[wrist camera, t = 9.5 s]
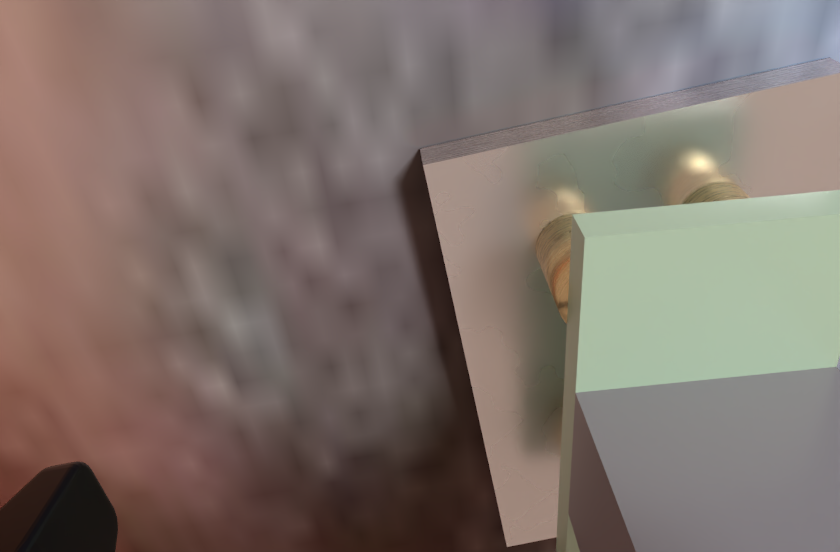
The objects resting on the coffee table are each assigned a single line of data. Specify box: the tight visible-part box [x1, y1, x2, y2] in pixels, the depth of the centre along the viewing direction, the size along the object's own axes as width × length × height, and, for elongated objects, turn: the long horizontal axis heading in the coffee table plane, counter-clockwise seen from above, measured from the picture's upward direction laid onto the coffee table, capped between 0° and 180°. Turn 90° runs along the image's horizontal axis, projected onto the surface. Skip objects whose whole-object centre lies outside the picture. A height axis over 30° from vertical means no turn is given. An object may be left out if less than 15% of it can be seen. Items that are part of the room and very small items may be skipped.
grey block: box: [556, 190, 840, 552], centre depth 17 cm, size 12×6×6 cm, turn 4°
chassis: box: [420, 58, 840, 547], centre depth 21 cm, size 14×10×4 cm
